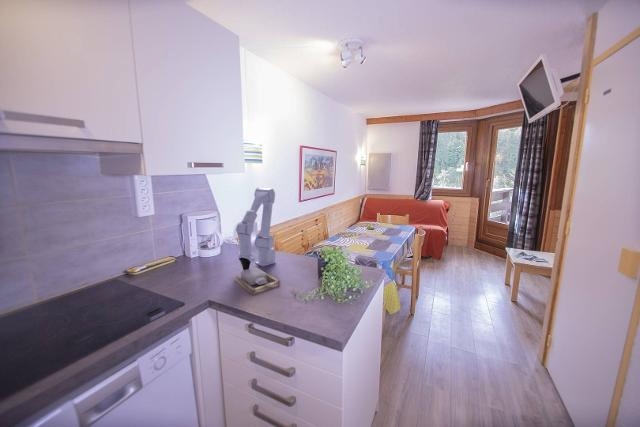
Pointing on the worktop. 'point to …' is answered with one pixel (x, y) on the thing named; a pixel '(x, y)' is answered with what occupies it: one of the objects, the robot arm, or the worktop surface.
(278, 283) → the frame
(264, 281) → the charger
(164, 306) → the worktop surface
